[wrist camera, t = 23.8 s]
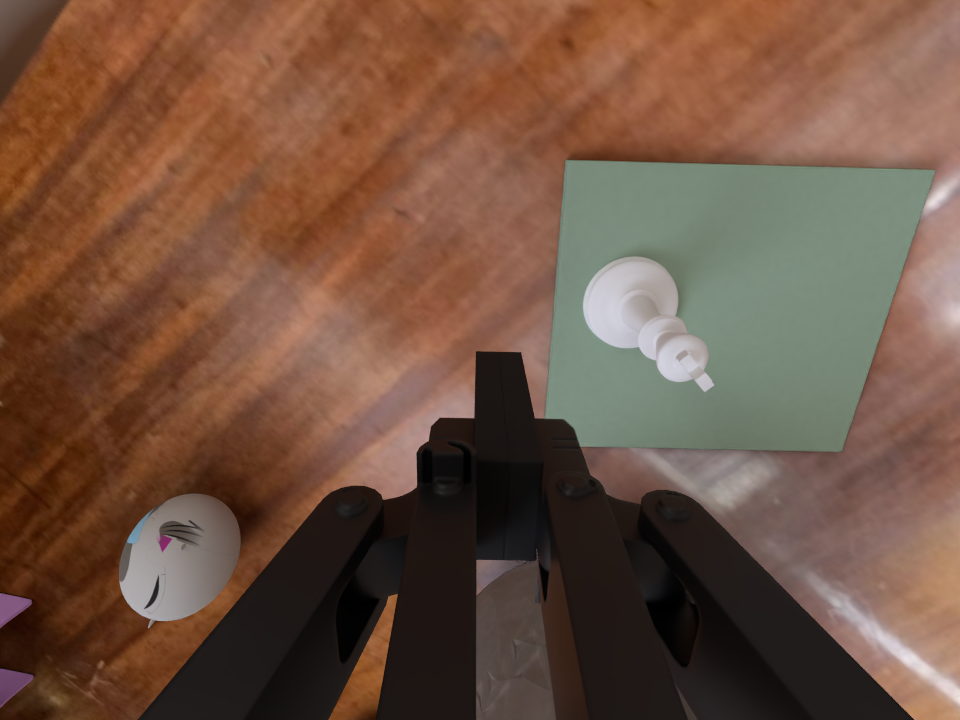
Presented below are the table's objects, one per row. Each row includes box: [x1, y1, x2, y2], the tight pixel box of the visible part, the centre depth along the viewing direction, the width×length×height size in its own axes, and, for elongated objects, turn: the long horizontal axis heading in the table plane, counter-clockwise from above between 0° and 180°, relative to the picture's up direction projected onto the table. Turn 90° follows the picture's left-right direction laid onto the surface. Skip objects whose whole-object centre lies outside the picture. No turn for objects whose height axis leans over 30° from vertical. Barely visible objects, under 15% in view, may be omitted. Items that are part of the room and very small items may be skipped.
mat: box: [544, 160, 936, 452], centre depth 29 cm, size 16×18×1 cm
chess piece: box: [583, 256, 714, 392], centre depth 23 cm, size 5×5×10 cm
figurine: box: [119, 494, 241, 628], centre depth 31 cm, size 8×6×7 cm
